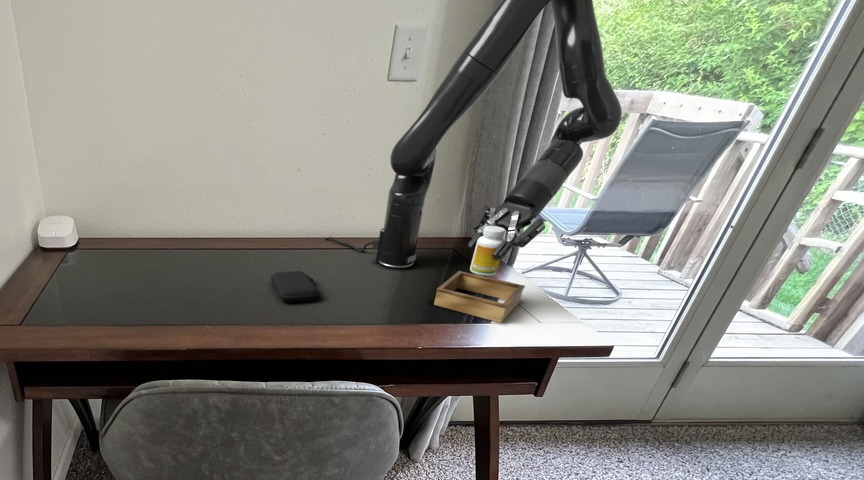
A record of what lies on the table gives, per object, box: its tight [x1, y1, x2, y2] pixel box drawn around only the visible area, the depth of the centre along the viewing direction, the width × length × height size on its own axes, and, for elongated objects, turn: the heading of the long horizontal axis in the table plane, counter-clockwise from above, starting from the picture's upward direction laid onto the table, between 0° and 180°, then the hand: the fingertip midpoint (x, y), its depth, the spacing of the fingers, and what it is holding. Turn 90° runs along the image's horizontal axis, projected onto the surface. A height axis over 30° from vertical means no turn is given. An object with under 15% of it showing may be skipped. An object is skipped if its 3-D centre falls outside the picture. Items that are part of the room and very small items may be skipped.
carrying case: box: [270, 270, 319, 303], centre depth 119 cm, size 11×3×15 cm
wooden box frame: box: [433, 270, 526, 324], centre depth 110 cm, size 15×14×4 cm
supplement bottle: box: [469, 225, 506, 277], centre depth 103 cm, size 5×5×10 cm
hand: (482, 253), depth 102 cm, fingers closed on supplement bottle, 5 cm apart
